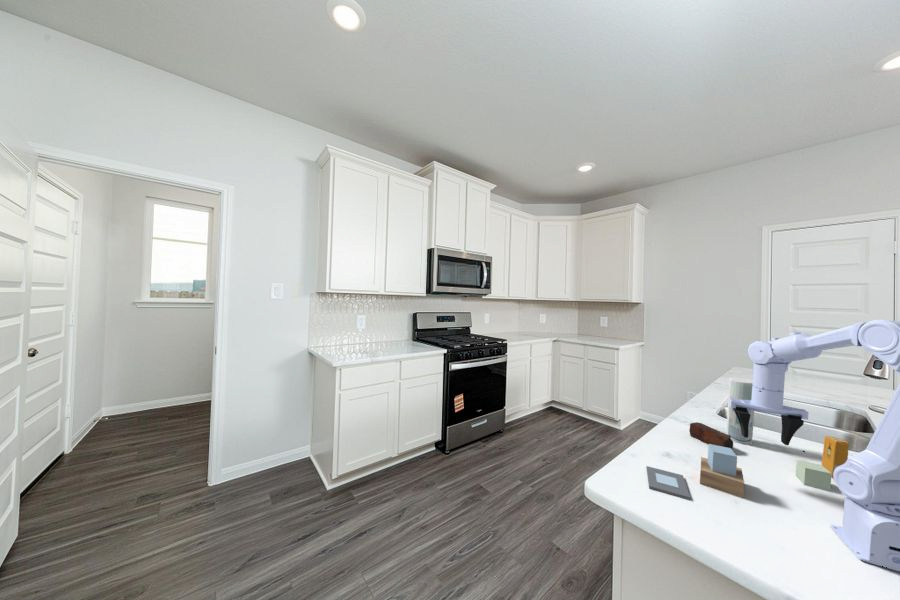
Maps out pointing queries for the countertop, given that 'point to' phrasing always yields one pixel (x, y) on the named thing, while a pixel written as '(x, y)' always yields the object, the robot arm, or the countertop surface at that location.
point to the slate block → (722, 460)
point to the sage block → (813, 475)
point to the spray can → (739, 391)
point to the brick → (710, 435)
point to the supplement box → (834, 453)
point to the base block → (722, 480)
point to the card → (667, 482)
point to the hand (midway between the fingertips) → (764, 439)
